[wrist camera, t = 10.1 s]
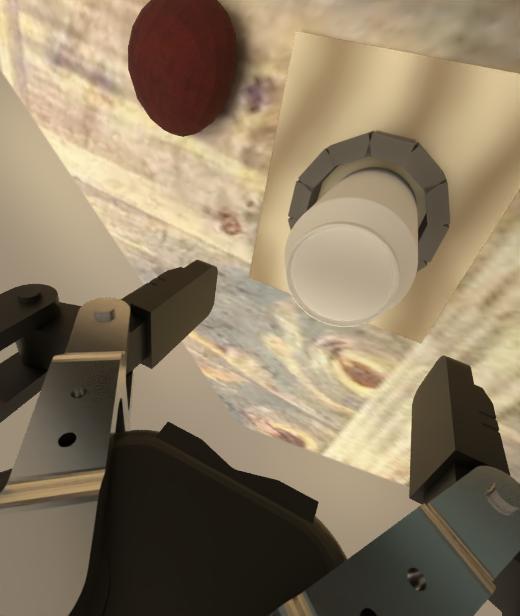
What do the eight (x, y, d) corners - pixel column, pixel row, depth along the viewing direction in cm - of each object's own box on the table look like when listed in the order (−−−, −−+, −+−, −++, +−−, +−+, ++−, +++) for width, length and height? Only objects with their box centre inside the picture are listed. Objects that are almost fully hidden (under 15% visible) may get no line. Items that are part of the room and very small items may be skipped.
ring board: (576, 87, 18) (613, 82, 14) (420, 335, 28) (421, 365, 25) (300, 34, 21) (279, 20, 18) (253, 272, 31) (234, 291, 28)
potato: (145, 78, 26) (86, 71, 22) (199, -35, 21) (137, -77, 17) (208, 150, 27) (164, 159, 23) (273, 57, 22) (234, 43, 18)
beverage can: (433, 177, 21) (447, 232, 12) (396, 262, 24) (383, 357, 15) (341, 155, 22) (285, 189, 13) (318, 238, 26) (262, 313, 17)
